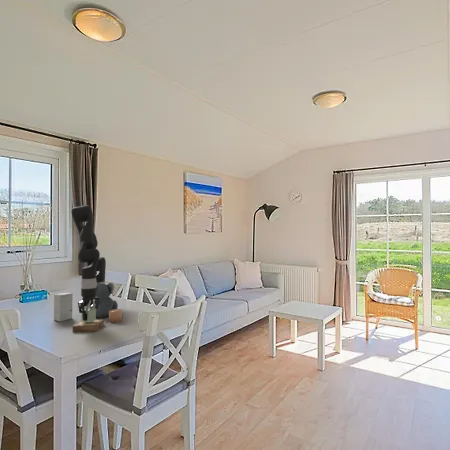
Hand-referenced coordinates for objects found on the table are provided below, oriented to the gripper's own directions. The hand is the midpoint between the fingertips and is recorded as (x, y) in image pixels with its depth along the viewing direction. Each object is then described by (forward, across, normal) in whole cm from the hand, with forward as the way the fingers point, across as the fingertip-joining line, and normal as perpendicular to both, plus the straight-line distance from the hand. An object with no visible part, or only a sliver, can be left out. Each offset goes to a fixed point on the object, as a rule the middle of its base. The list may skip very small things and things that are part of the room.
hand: (88, 319), depth 179 cm
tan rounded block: (+5, -16, +5) cm, 17 cm away
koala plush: (+5, -26, -11) cm, 29 cm away
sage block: (+1, 0, 0) cm, 1 cm away
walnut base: (+5, 0, 0) cm, 5 cm away
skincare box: (+5, -10, -26) cm, 28 cm away
